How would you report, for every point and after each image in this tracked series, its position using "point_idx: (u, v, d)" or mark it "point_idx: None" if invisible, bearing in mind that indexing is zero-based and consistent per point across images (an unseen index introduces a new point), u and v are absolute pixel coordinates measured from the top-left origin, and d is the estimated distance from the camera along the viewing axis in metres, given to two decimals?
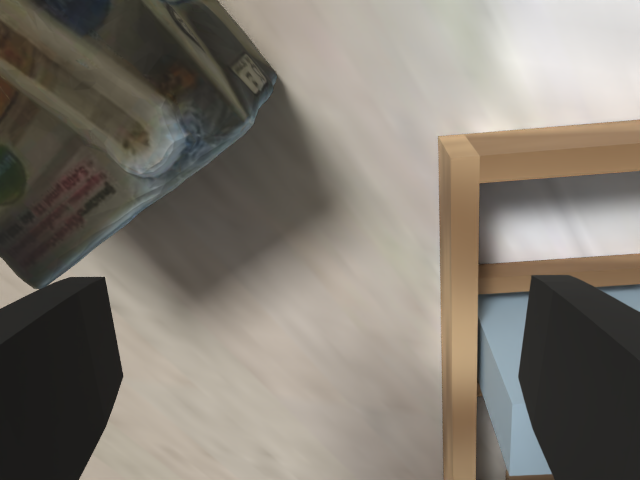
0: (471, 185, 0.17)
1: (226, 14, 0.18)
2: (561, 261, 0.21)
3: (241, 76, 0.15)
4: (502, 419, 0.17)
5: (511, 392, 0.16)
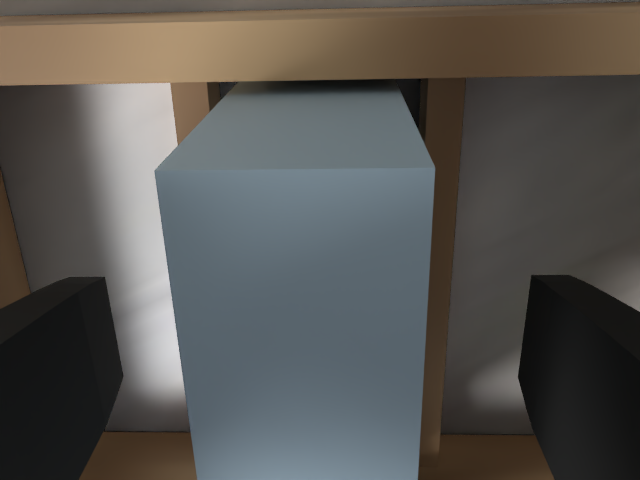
0: None
1: None
2: None
3: None
4: None
5: None
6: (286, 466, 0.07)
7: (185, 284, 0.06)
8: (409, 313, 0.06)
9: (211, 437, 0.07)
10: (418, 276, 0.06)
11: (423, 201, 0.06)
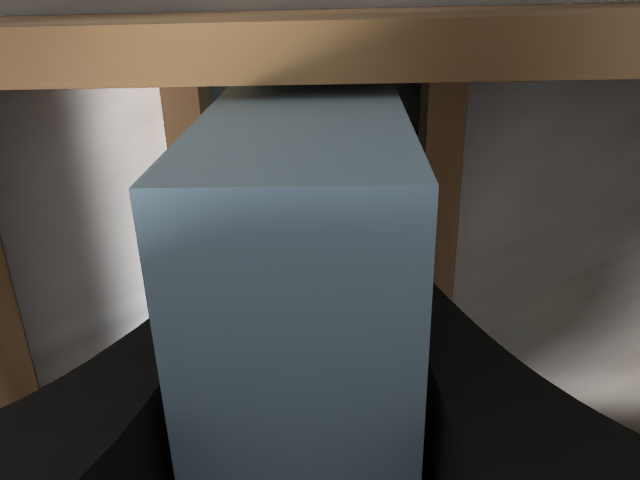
0: None
1: None
2: None
3: None
4: None
5: None
6: None
7: (164, 311, 0.05)
8: (410, 342, 0.05)
9: (195, 474, 0.06)
10: (420, 302, 0.05)
11: (425, 221, 0.05)
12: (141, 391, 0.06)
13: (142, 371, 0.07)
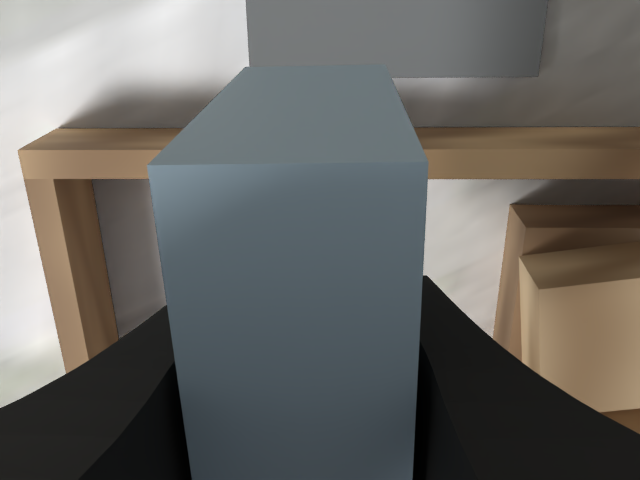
0: None
1: None
2: None
3: None
4: None
5: None
6: (281, 463, 0.07)
7: (178, 279, 0.06)
8: (403, 308, 0.06)
9: (205, 434, 0.07)
10: (412, 271, 0.06)
11: (417, 195, 0.05)
12: (141, 391, 0.06)
13: (142, 371, 0.07)
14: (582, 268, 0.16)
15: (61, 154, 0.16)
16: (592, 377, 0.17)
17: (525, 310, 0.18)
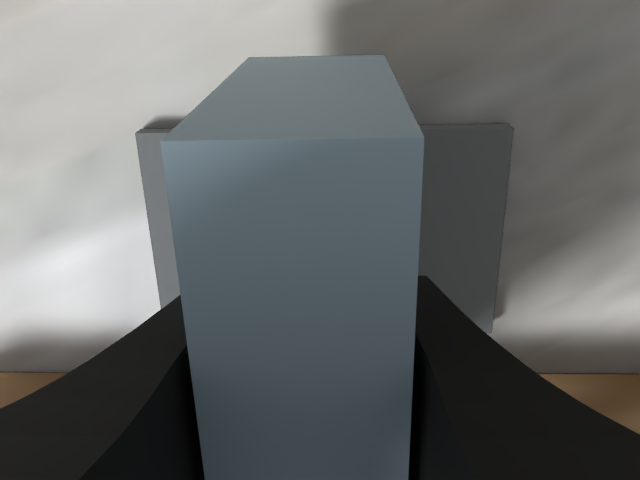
0: None
1: None
2: None
3: None
4: None
5: None
6: (285, 428, 0.07)
7: (189, 250, 0.06)
8: (401, 278, 0.06)
9: (213, 400, 0.07)
10: (409, 242, 0.06)
11: (413, 169, 0.06)
12: (142, 391, 0.06)
13: (142, 371, 0.07)
14: None
15: None
16: None
17: None
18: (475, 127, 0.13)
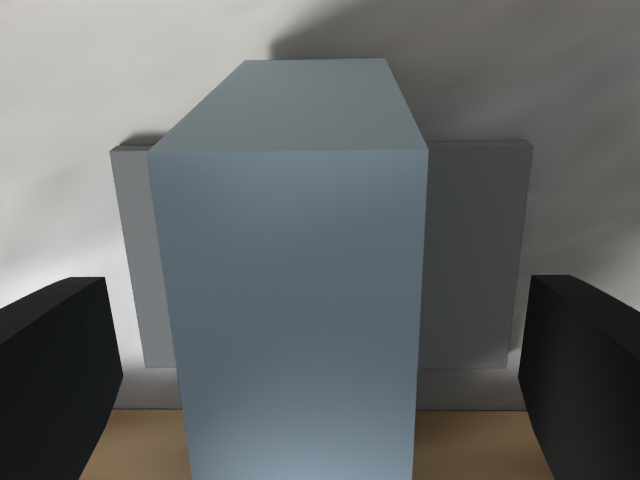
0: None
1: None
2: None
3: None
4: None
5: None
6: (281, 454, 0.07)
7: (177, 267, 0.06)
8: (403, 297, 0.06)
9: (204, 424, 0.07)
10: (412, 260, 0.06)
11: (417, 183, 0.05)
12: None
13: None
14: None
15: None
16: None
17: None
18: (489, 145, 0.11)
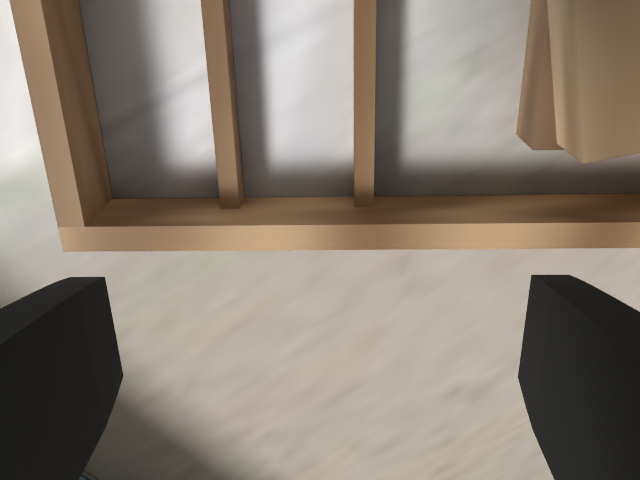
0: (87, 233, 0.18)
1: None
2: None
3: None
4: None
5: None
6: None
7: None
8: None
9: None
10: None
11: None
12: None
13: None
14: None
15: None
16: None
17: (557, 47, 0.16)
18: None
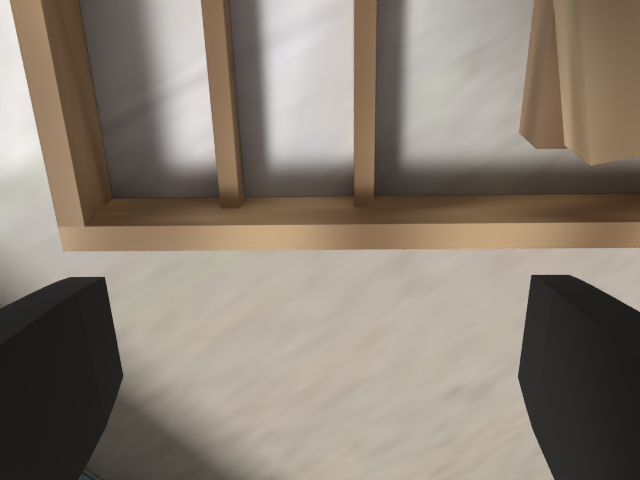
0: (87, 233, 0.18)
1: None
2: None
3: None
4: None
5: None
6: None
7: None
8: None
9: None
10: None
11: None
12: None
13: None
14: None
15: None
16: None
17: (564, 49, 0.16)
18: None
